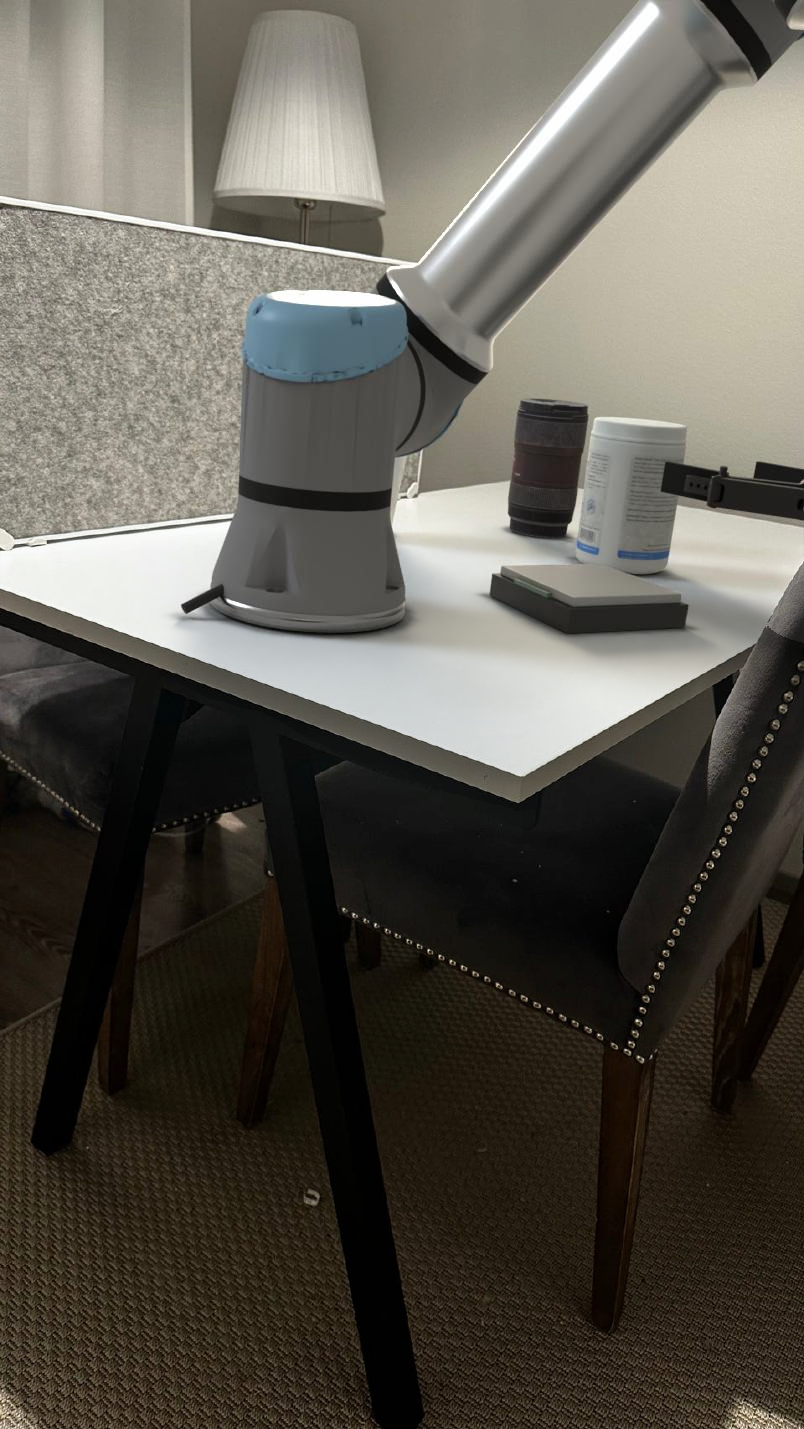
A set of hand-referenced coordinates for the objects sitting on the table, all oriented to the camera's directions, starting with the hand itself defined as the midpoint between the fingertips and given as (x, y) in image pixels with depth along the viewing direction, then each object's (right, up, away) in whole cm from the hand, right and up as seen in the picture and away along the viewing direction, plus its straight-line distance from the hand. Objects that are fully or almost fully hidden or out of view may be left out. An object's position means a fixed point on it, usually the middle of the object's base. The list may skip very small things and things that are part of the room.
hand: (712, 476), depth 104 cm
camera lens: (-14, -1, +25) cm, 29 cm away
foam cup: (-34, -3, +15) cm, 37 cm away
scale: (-14, -14, -10) cm, 22 cm away
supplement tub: (-7, -7, +11) cm, 15 cm away
